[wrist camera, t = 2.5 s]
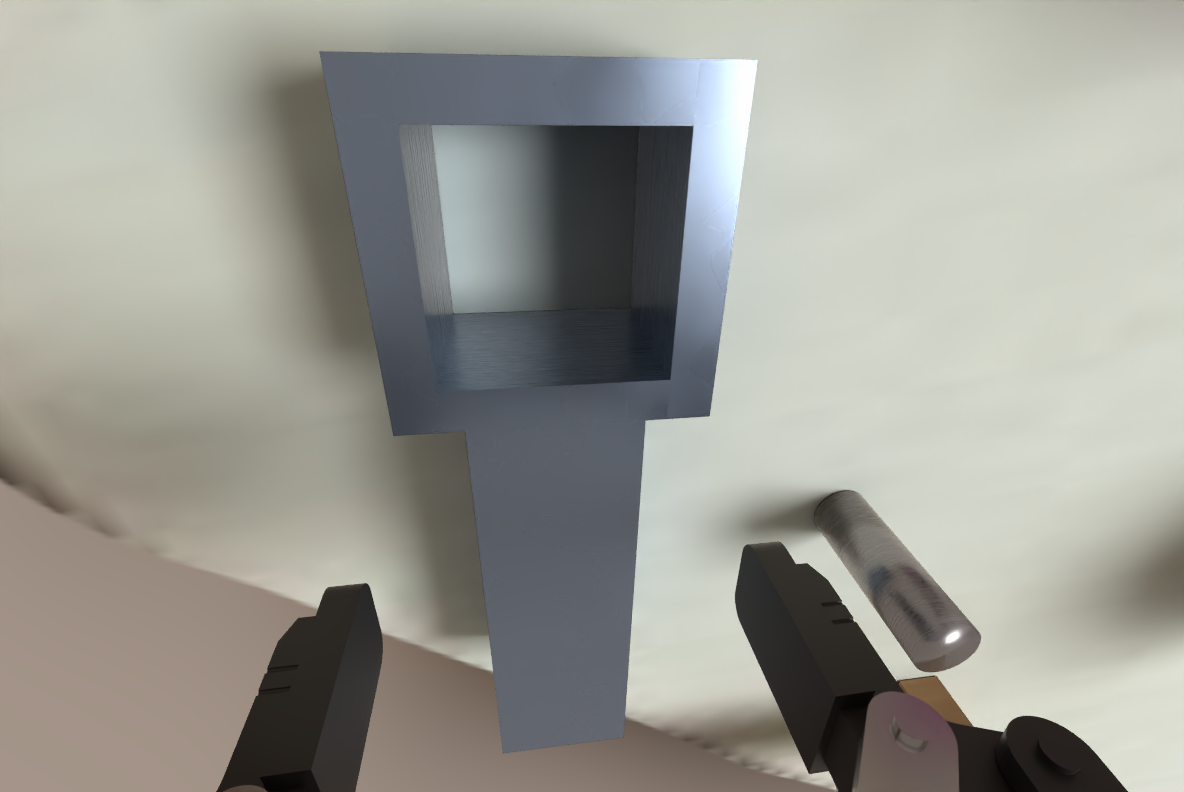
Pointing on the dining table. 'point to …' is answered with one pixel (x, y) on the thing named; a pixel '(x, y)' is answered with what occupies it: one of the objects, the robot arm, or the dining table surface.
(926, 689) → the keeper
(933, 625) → the cylinder
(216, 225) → the dining table surface
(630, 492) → the link
